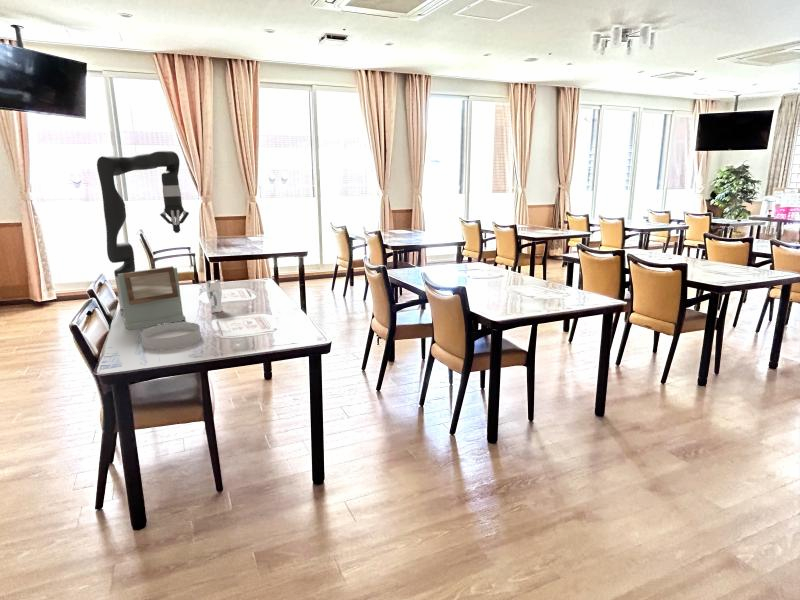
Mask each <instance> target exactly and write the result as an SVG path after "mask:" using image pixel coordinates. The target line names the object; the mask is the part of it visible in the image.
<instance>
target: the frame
mask: <svg viewBox="0 0 800 600" xmlns="http://www.w3.org/2000/svg"><path fill="white" fill-rule="evenodd" d="M174 268H175V267H174V266H173V265H171V266H164V267H157V268H150V269H144V270H135V272H129V273H123V274H124V279H125V284H126V289H127V294H128V299H129V304H130V305H134V304H140V303H146V302H151V301H157V300H163V299H168V298H174V297H179V296H178V291H177V285H176V279H175V274H174Z"/></svg>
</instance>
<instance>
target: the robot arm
mask: <svg viewBox="0 0 800 600" xmlns="http://www.w3.org/2000/svg"><path fill="white" fill-rule="evenodd" d="M158 168H166V169H165V172H163V173H162V174H161V182H162V183H161V184H162V195H163V196H162V197H163V203H164V208H163V212H161V213H159V216H160V217H162V219H163V220H165V221H166V223H168V224H169V225H172V231H173V232H174V233H175V234H178V233H180V232H181V227H180V226H181V224H183V223H184V222H185V221H186V219H187V217H188V216H189V214H190V213H189V211H186V210H185V209H184V207H183V201H182V193H181V188H180V183H179V182H180V181H179V171H180V157H179V156H178V154H177V153H176V152H175V151H172V150H171V151H170V150H160V151H159V150H158V151H154V152H148V153H147V152H146V153H141V154H137V155H133V156H116V155H101V156H99V158H98V159H97V161H96V169H97V174H98V179H99V183H100V189H101V196H102V201H103V202H102V204H103V214H104V221H105V229H106V230H105V231H106V232H105V233H106V252H107V253H106V254H107V258H108V261H110V263H113V264H114V263H115V264H116V263H122V265H121V266H120V267H117V268H116V269H115V270H114V272H113V273H114V279H115V284H116V285H115V286H116V291H117V298H118V303H119V304H118V305H119V309H120V310H121V309H123V305H122V299H121V292H120V286H119V280H118V274H121V273H129V272H136V264H135V254H134V248H133V246H132V244H130V243H129V242H122V243H121V242H120V243H119V242H118V236H119V232H120V231H121V230H122V229H121V228H122V227H123V225H124V223H125V221H126V219H127V218H126V217H127V212H126V210H127V209H126V204H125V200H124V199H123V198H122V196H121V195H120V193H119V192H118V190H117V188H116V184H115V177H118V176H120V175H123V174H126V173H129V172H133V171H143V170H152V169H153V170H154V169H158ZM167 216H168V217H169V218H170V219H169V218H168V217H167ZM180 217H181V218H180Z"/></svg>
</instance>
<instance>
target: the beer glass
mask: <svg viewBox="0 0 800 600" xmlns="http://www.w3.org/2000/svg"><path fill="white" fill-rule="evenodd" d="M205 288H206V289H205V290H206V295H207V299H208V302H209V312H210V313H212V314H216V313H215V312H218V313H221V311H222V312H223V311H224V309H223V306H222V297H223V292H222V283H221V280H219V279H213V280H208V281H207V280H206V281H205Z"/></svg>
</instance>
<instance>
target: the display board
mask: <svg viewBox="0 0 800 600" xmlns="http://www.w3.org/2000/svg"><path fill="white" fill-rule="evenodd" d="M173 268H174V274H175V279H176V285H177V291H178V296H179V297H174V298H168V299H163V300H157V301H151V302H146V303H140V304H134V305H130V304H129V299H128V294H127V289H126V284H125V279H124V274H123V273H121V274H118V280H119V286H120V292H121V299H122V305H123V310H122V311H123V315H124V316H123V318H124V319H123V321H124V326H125V325H126V326H125V328H126V330H127V331H131V330H136V328H137V329H142V328H141V327H144V328H148V327H147V326H150V327H154V325H156V326H158V324H162V325H163V324H164V323H171V322H174V323H177V322H176V321H180V322H183V321H182V320H186V315H185V314H184V312H183V305H182V298H181V290H180V282H179V281H180V280H179V275H178V274H179V273H178V267H175V266H174V267H173ZM186 321H187V320H186Z"/></svg>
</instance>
